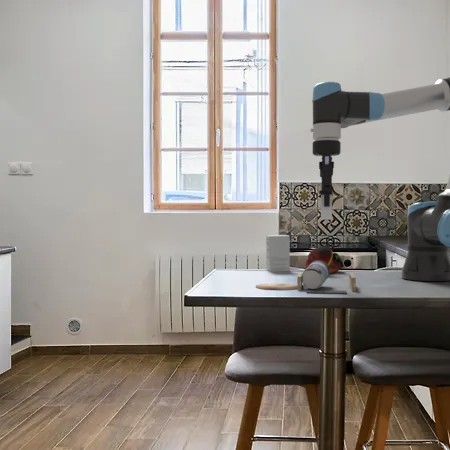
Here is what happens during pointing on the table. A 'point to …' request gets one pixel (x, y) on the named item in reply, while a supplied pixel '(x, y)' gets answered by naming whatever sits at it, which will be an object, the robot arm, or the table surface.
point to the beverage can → (315, 274)
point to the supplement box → (277, 253)
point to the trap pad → (326, 292)
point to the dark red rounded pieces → (325, 258)
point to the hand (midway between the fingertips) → (326, 219)
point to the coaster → (277, 286)
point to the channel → (351, 281)
